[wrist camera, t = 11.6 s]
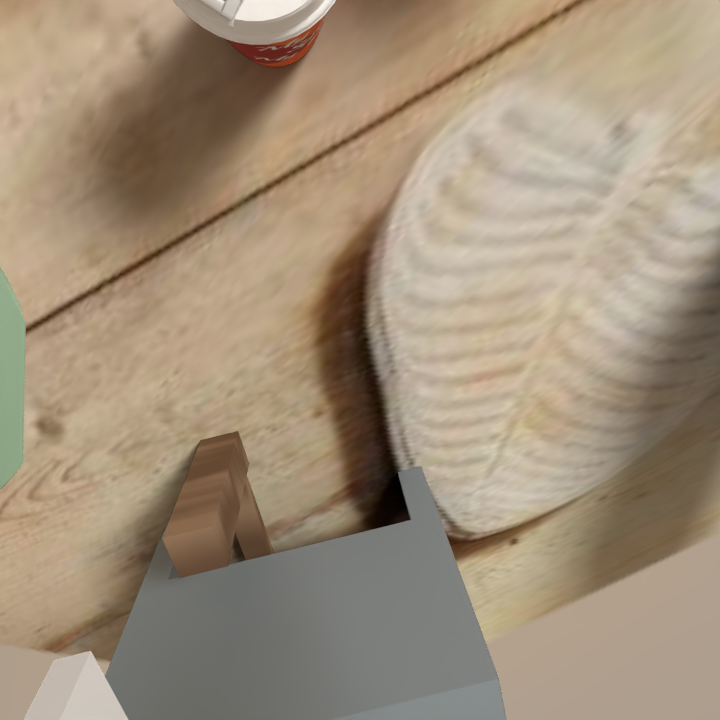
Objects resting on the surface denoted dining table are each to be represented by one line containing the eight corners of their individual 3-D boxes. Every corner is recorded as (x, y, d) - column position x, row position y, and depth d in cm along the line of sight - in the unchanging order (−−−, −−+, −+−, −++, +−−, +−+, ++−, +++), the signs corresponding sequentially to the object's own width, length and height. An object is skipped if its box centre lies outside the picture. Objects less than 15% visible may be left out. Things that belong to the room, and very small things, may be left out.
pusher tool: (182, 444, 43) (137, 544, 32) (256, 426, 43) (237, 520, 32) (249, 616, 49) (231, 750, 38) (314, 600, 49) (315, 729, 38)
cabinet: (421, 466, 46) (498, 678, 27) (443, 569, 49) (525, 818, 31) (163, 529, 46) (61, 786, 27) (205, 627, 49) (142, 912, 31)
